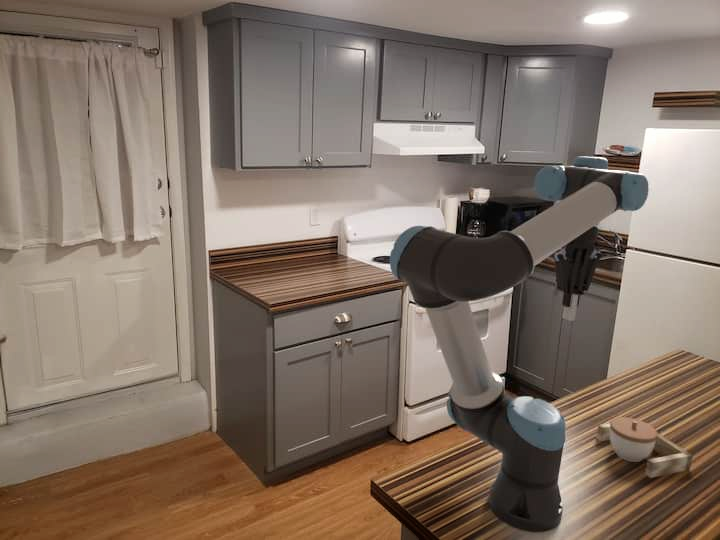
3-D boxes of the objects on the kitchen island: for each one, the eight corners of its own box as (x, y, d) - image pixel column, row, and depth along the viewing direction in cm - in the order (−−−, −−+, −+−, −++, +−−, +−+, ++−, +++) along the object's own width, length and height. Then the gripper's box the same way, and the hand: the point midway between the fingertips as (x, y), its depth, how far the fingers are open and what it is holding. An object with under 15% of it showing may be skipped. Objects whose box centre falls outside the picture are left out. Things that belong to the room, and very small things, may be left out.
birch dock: (650, 477, 134) (653, 463, 133) (596, 438, 150) (598, 425, 149) (689, 469, 138) (692, 455, 137) (632, 432, 154) (635, 419, 153)
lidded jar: (658, 470, 137) (665, 435, 135) (612, 464, 139) (618, 429, 136) (644, 446, 147) (650, 414, 145) (601, 441, 149) (607, 409, 146)
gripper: (570, 226, 126) (556, 325, 132) (616, 226, 131) (600, 322, 136) (548, 221, 133) (536, 315, 139) (593, 220, 137) (579, 312, 143)
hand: (568, 318), depth 138 cm, fingers closed
